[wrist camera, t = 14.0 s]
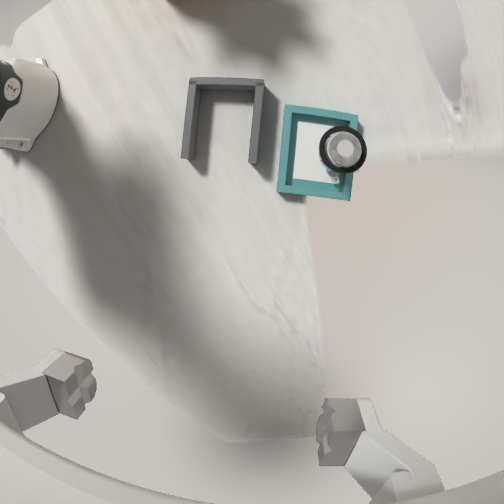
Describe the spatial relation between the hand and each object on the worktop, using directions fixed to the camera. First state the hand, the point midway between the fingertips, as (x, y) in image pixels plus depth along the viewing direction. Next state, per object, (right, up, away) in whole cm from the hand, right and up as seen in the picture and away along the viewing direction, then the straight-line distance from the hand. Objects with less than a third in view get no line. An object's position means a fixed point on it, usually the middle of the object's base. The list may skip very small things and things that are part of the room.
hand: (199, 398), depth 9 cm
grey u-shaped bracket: (-2, +23, +31) cm, 38 cm away
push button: (+12, +17, +31) cm, 37 cm away
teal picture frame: (+11, +18, +31) cm, 37 cm away
